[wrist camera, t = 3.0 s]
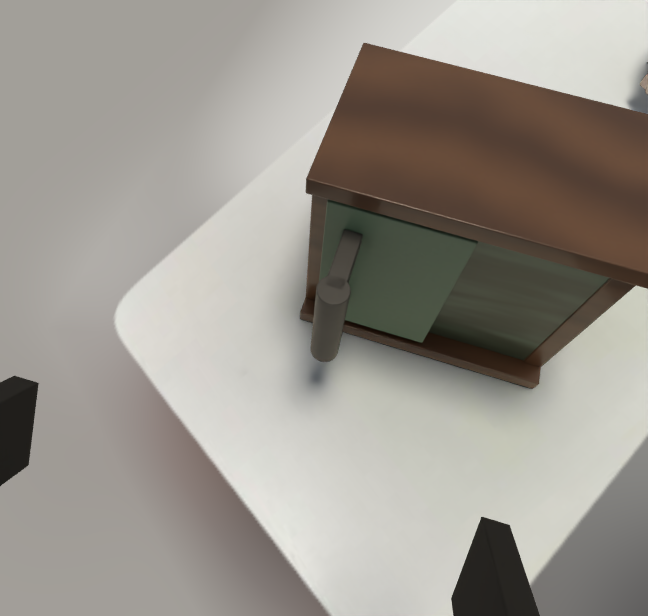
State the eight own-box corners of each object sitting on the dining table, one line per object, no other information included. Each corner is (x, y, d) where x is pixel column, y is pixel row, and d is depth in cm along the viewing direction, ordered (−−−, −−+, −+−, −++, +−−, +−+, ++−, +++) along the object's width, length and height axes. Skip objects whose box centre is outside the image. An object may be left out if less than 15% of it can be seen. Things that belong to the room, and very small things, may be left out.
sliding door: (407, 405, 32) (461, 324, 22) (294, 370, 32) (297, 276, 23) (424, 335, 34) (479, 233, 24) (318, 303, 35) (330, 192, 25)
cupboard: (532, 389, 34) (670, 279, 22) (299, 319, 36) (305, 178, 23) (547, 266, 39) (668, 118, 27) (340, 208, 40) (363, 41, 28)
